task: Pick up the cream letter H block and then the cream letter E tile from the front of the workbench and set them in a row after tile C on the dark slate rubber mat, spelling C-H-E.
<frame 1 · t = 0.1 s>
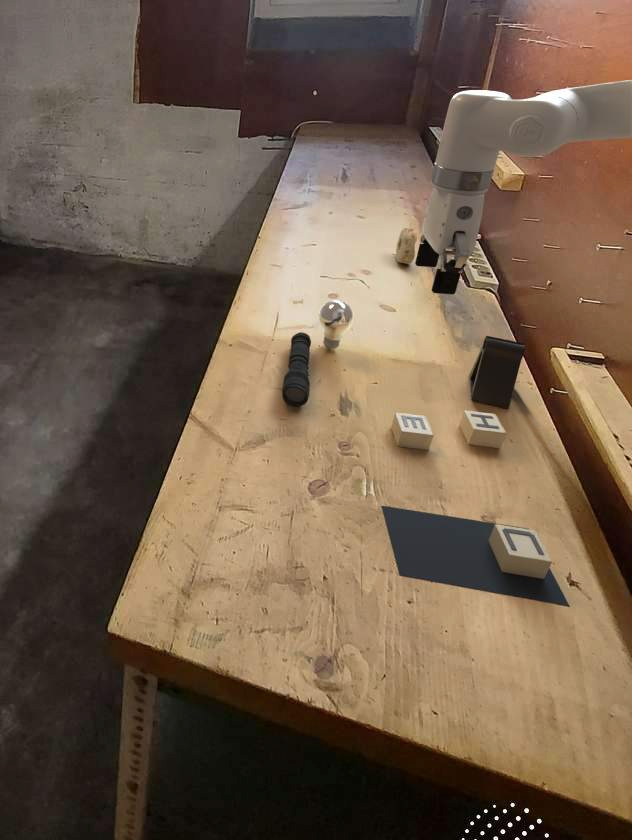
hand: (433, 278, 92), 29 cm above the table, tool pointing down, fingers open, 9 cm apart
phone stand: (487, 392, 111), on the table
stone disc: (401, 261, 164), on the table
letter e tile: (409, 438, 100), on the table
light bulb: (329, 349, 126), on the table
flashlight: (296, 377, 117), on the table
tile c: (515, 559, 78), resting on mat
letter h block: (479, 436, 100), on the table
mat: (466, 553, 80), on the table
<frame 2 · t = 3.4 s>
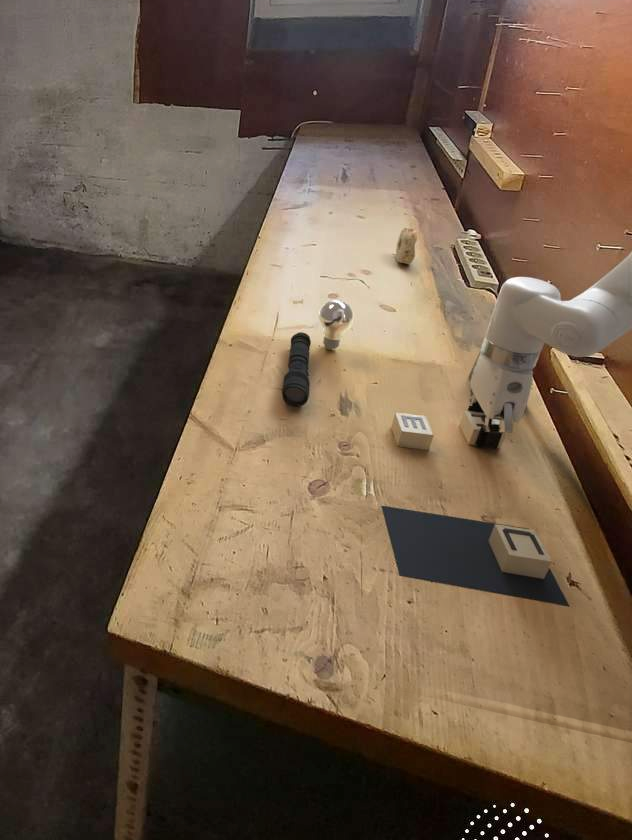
hand: (479, 434, 100), 0 cm above the table, tool pointing down, fingers closed on letter h block, 5 cm apart
letter h block: (479, 436, 100), on the table, touching gripper
everything else where it was.
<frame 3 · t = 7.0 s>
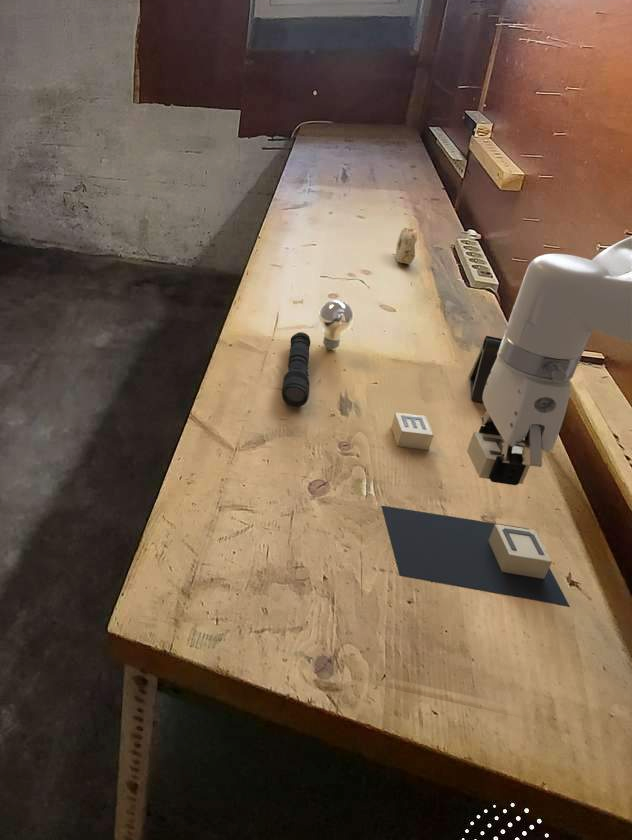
hand: (494, 464, 76), 14 cm above the table, tool pointing down, fingers closed on letter h block, 5 cm apart
letter h block: (493, 467, 76), point 14 cm above the table, touching gripper
everything else where it was.
when the fingers open (1 cm above the table, at t = 10.6 s): letter h block stays where it is, resting on mat.
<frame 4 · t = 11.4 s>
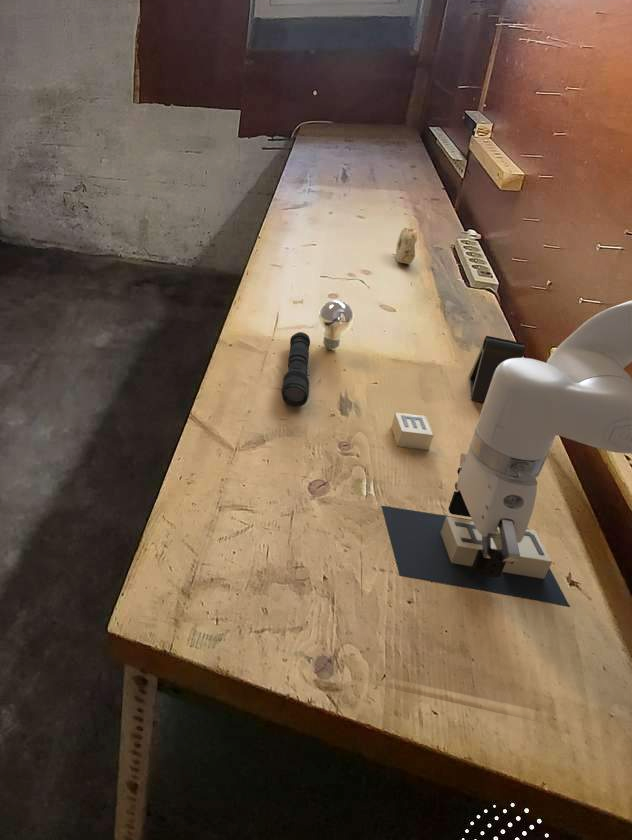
hand: (472, 542, 78), 2 cm above the table, tool pointing down, fingers open, 9 cm apart
letter h block: (465, 550, 79), resting on mat
everything else where it was.
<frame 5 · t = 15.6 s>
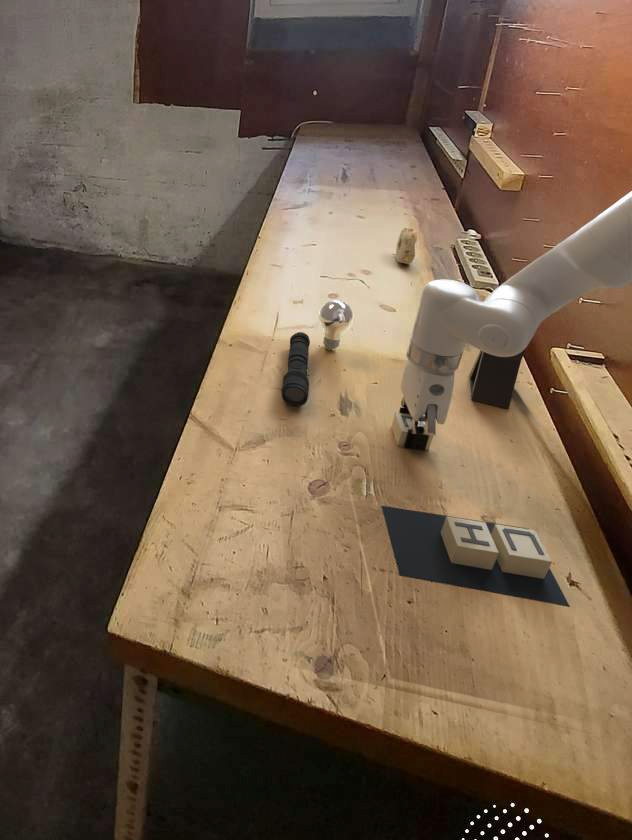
hand: (410, 436, 100), 0 cm above the table, tool pointing down, fingers closed on letter e tile, 5 cm apart
letter e tile: (409, 438, 100), on the table, touching gripper
everything else where it was.
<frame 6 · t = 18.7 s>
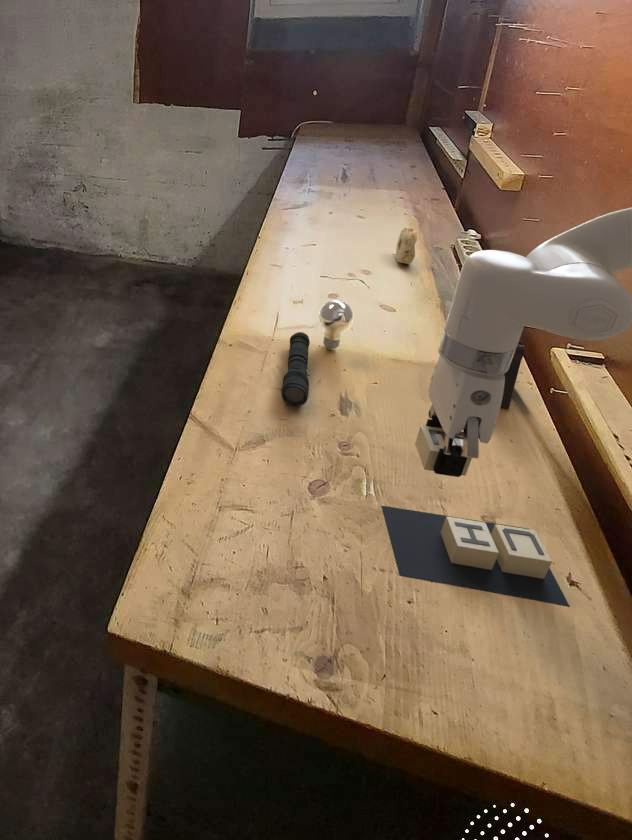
hand: (440, 457, 77), 14 cm above the table, tool pointing down, fingers closed on letter e tile, 5 cm apart
letter e tile: (439, 459, 77), point 14 cm above the table, touching gripper
everything else where it was.
when the fingers open (1 cm above the table, at t = 22.3 s): letter e tile stays where it is, resting on mat.
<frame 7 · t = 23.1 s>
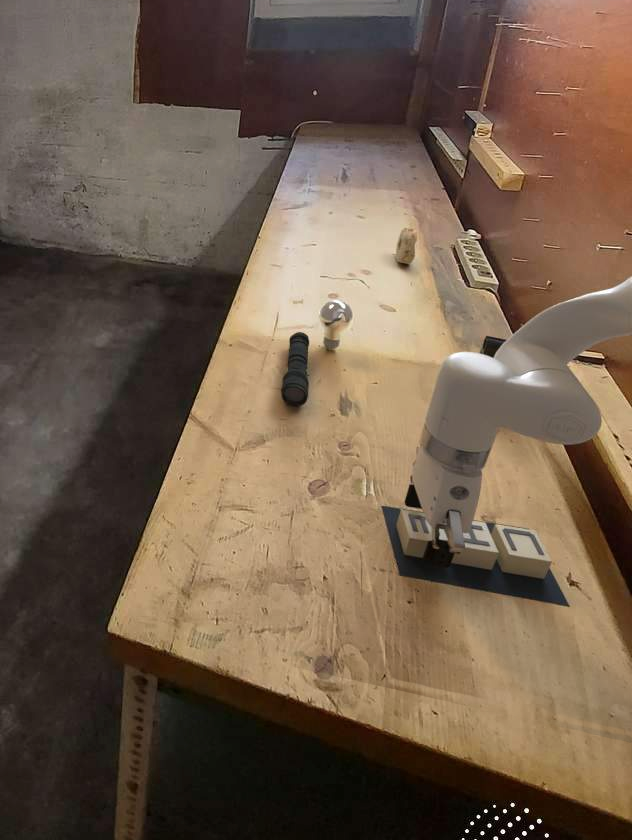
hand: (425, 533, 80), 2 cm above the table, tool pointing down, fingers open, 9 cm apart
letter e tile: (418, 543, 81), resting on mat
everything else where it was.
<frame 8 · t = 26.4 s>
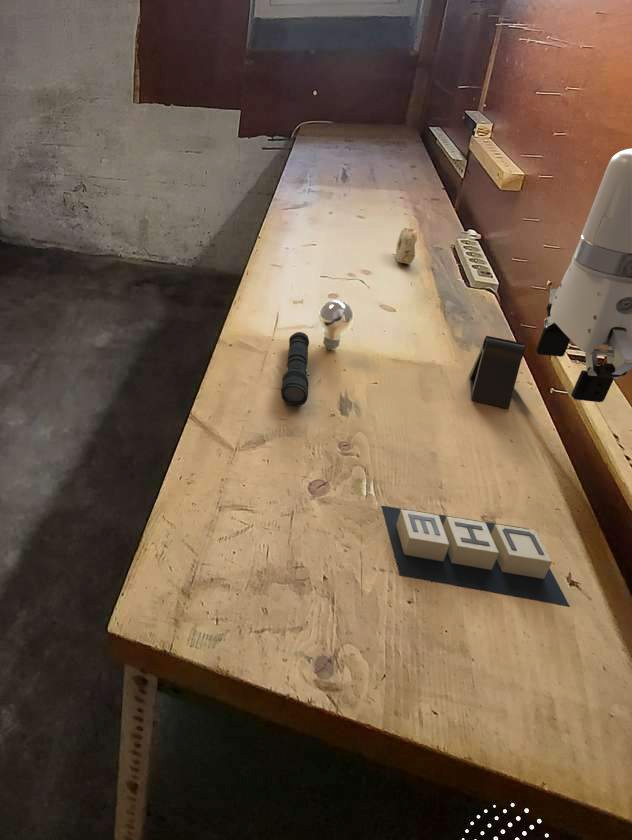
hand: (566, 375, 73), 26 cm above the table, tool pointing down, fingers open, 9 cm apart
nothing on the table moved.
at the end: letter h block 0.2 cm off-centre on the mat, point 0.4 cm above the mat's base; letter e tile 0.2 cm from the target spot on the mat, point 0.4 cm above the mat's base; tile c moved 0.0 cm from its start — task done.
